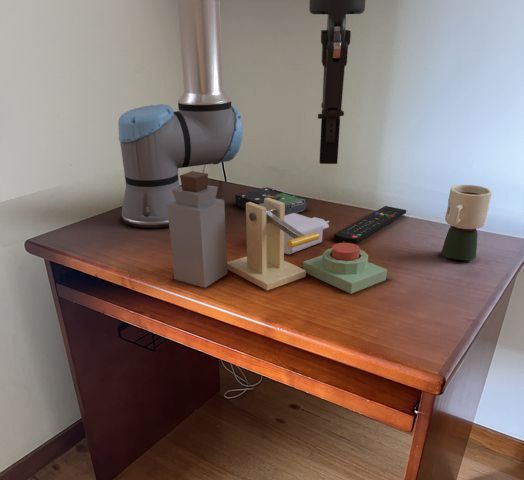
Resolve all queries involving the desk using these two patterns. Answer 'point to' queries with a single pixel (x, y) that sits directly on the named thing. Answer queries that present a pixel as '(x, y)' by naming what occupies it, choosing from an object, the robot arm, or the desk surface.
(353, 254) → the button
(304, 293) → the desk surface
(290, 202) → the disk drive
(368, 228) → the remote control
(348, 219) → the desk surface
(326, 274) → the button box
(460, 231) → the character mug
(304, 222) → the charger
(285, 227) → the t-handle lever
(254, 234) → the bracket
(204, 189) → the perfume bottle
